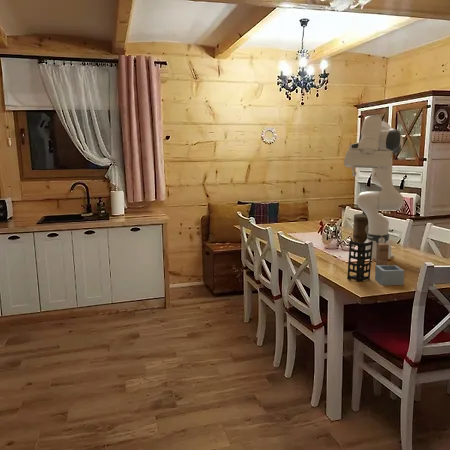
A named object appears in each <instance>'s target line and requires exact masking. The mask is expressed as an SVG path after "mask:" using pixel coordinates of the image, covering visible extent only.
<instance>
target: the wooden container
mask: <svg viewBox="0 0 450 450" xmlns="http://www.w3.org/2000/svg"><path fill="white" fill-rule="evenodd" d="M361 211H362V213H356V214H354V215H353V227H352V241H353V240H354V241H353V242H357V243H364V242H365V241H366V240H367V235H368V233H369V224H368V218H367V215H366V214H365V212H364V211H363V210H361Z"/></svg>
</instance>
